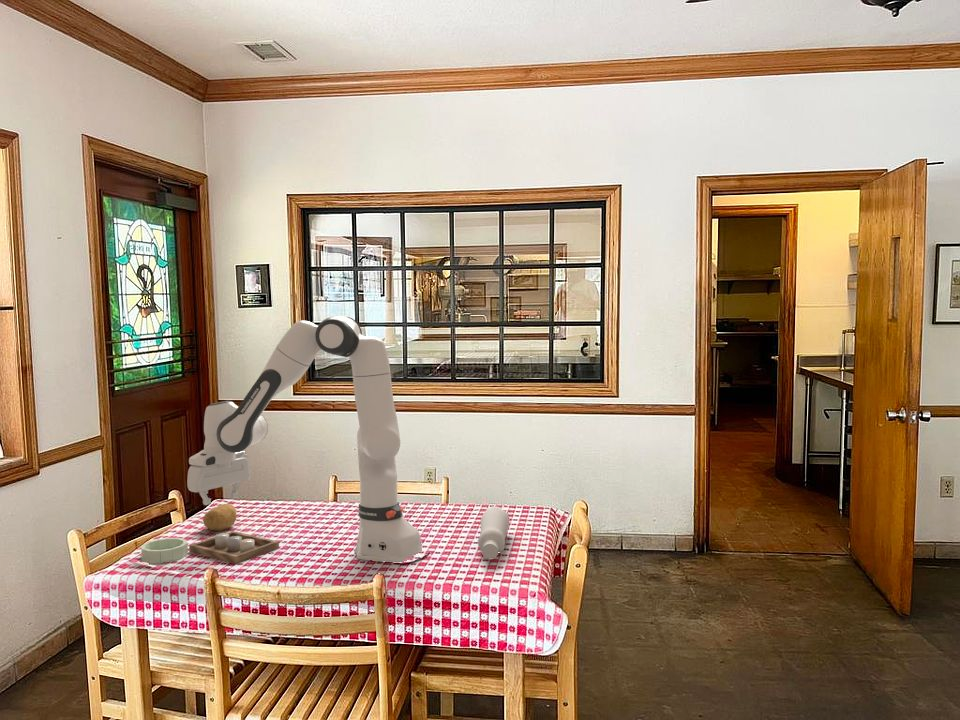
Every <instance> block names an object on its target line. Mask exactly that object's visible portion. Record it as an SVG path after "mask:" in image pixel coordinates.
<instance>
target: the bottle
mask: <svg viewBox="0 0 960 720" xmlns="http://www.w3.org/2000/svg"><path fill="white" fill-rule="evenodd" d="M509 528H510V516H509V513H508V512H507V511H505V510H504V509H502V508H501V507H499V506H489V507H487V509H486V510H485V511H484V512H483V513H482V516H481V518H480V534H479V536H478V539H477V546H478V548H479V551H480V552H481V555H482V556H483V557H484V558H485V559H487V558H494V559H496V557H497V556H498V555H499V554H498V552H501V551H502V552H503V551H504V549H505V547H506V536H507V533H508V530H509ZM502 552H501V553H502Z"/></svg>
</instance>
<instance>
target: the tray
mask: <svg viewBox="0 0 960 720" xmlns="http://www.w3.org/2000/svg"><path fill="white" fill-rule="evenodd" d="M227 533H228V534H229V537H231V536H241V537H242V540H244V539H254V549H251V550H248V551H246V552H243V553H240V551H238V552H228V551H227V548H224V549H216V548H215V536H214V537H211V538H208V539H204V540H201V541H198V542H194V543H191V544H189V546H188V553H192V554H196V555H199V556H202V557H203V556H204V557H208V558H212V559H215V560H218V561H219V560H220V561H223V562H227V563H230V564H234V565H237V564H240V563H242V562H245V561H247V560H251V559H253V558H256V557H258V556H261V555H264V554H267V553H270V552H272V551H275V550H278V549H280V541H278V540H274V539H270V538H265V537H260V536H257V535H252V534H247V533H243V532H238V531H234V530H233V531H230V532H227Z"/></svg>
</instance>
